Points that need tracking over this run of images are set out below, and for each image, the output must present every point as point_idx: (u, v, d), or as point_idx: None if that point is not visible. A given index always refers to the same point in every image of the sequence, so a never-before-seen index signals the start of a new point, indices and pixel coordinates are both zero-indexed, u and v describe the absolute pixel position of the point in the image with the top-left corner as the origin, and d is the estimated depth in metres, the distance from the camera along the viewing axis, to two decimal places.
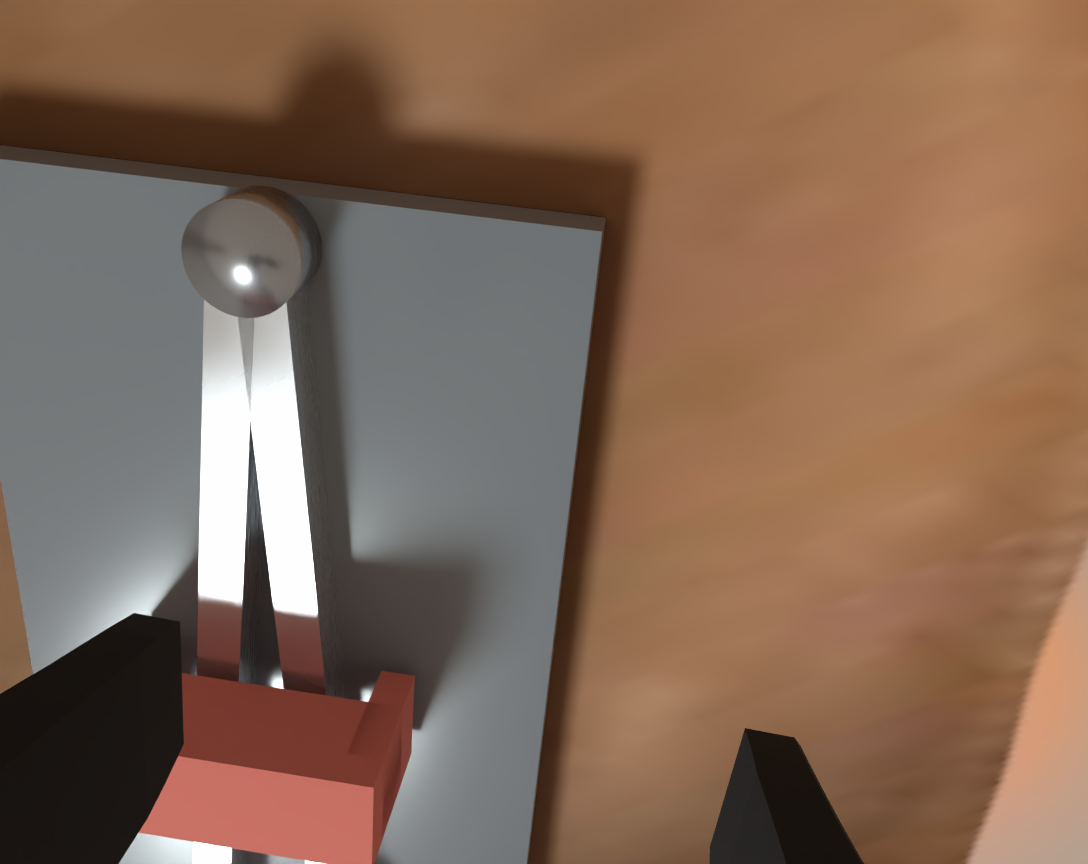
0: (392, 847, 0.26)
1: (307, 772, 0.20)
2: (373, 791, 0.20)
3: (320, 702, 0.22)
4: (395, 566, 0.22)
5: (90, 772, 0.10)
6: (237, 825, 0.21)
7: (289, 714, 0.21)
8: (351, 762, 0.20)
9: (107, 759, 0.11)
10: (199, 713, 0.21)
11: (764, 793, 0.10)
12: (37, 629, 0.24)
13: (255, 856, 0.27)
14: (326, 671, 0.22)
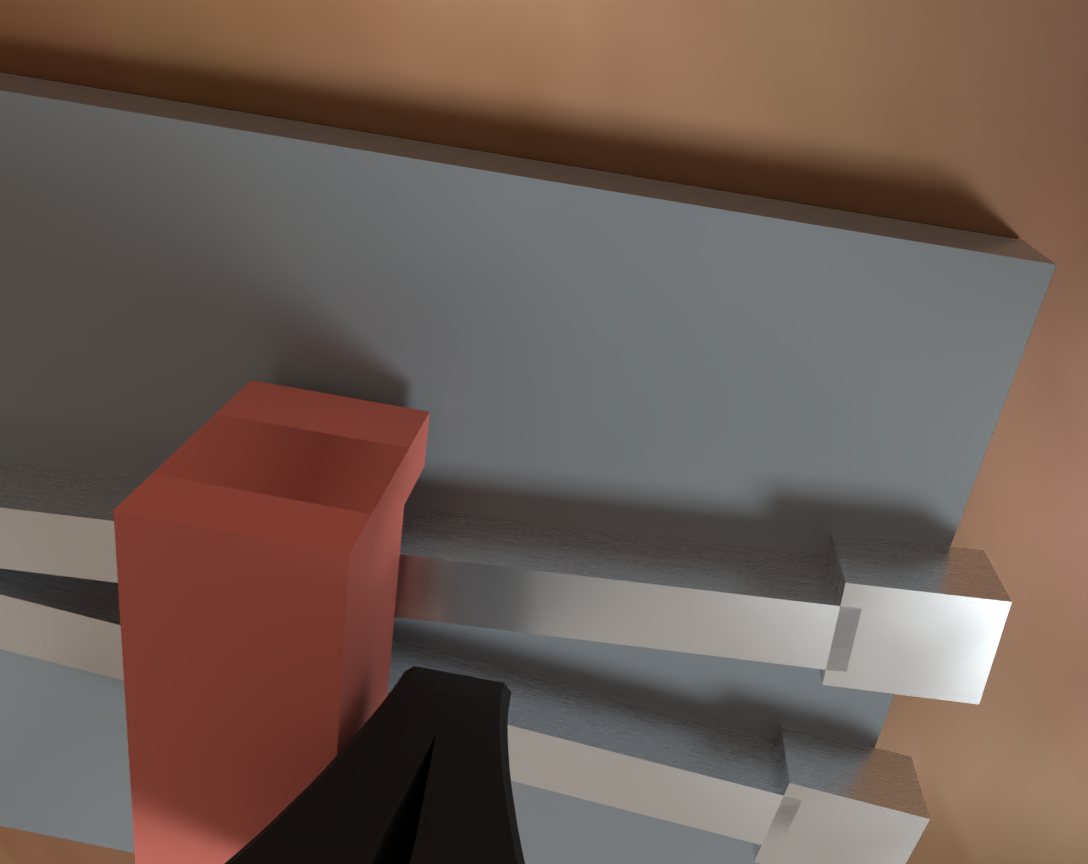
0: (729, 485, 0.13)
1: (125, 618, 0.10)
2: (123, 512, 0.10)
3: None
4: (97, 382, 0.14)
5: (412, 836, 0.10)
6: (274, 761, 0.11)
7: None
8: None
9: None
10: None
11: (440, 731, 0.11)
12: None
13: (755, 718, 0.15)
14: None
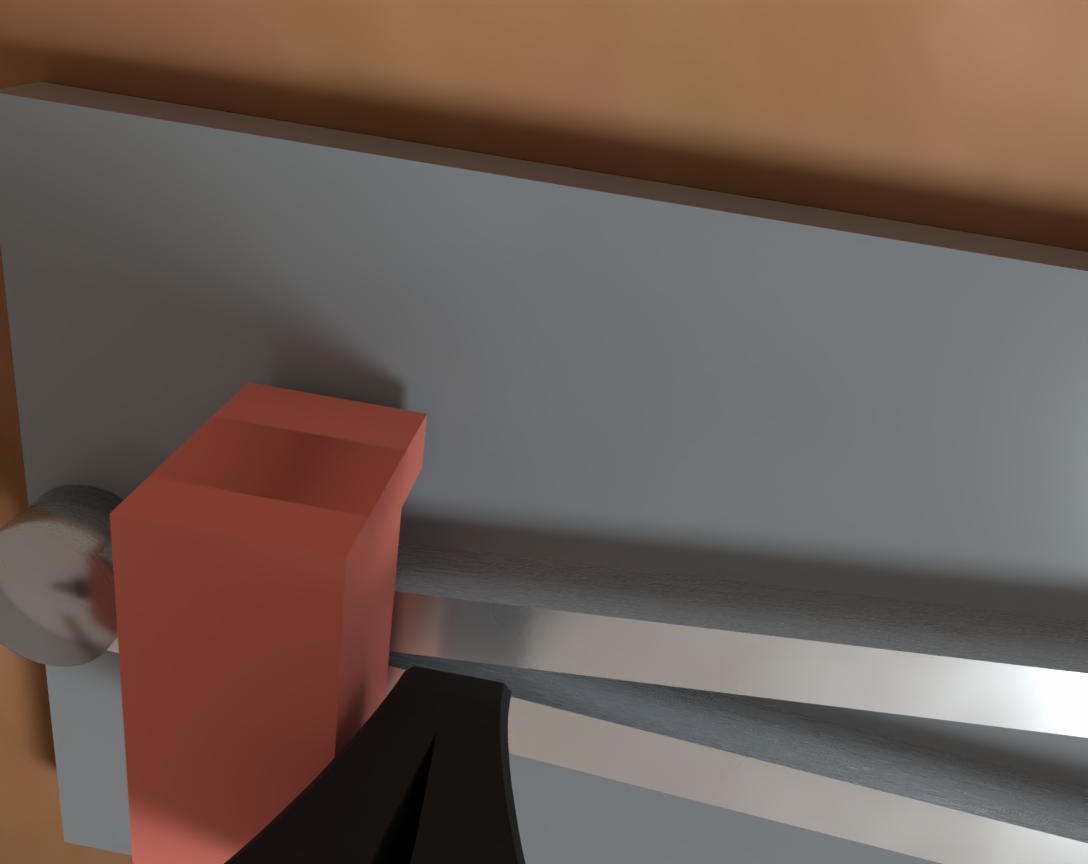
0: None
1: (122, 621, 0.10)
2: (119, 515, 0.10)
3: None
4: (587, 472, 0.13)
5: (412, 836, 0.10)
6: (272, 764, 0.11)
7: None
8: None
9: (420, 820, 0.11)
10: None
11: (440, 731, 0.11)
12: None
13: None
14: (746, 626, 0.13)
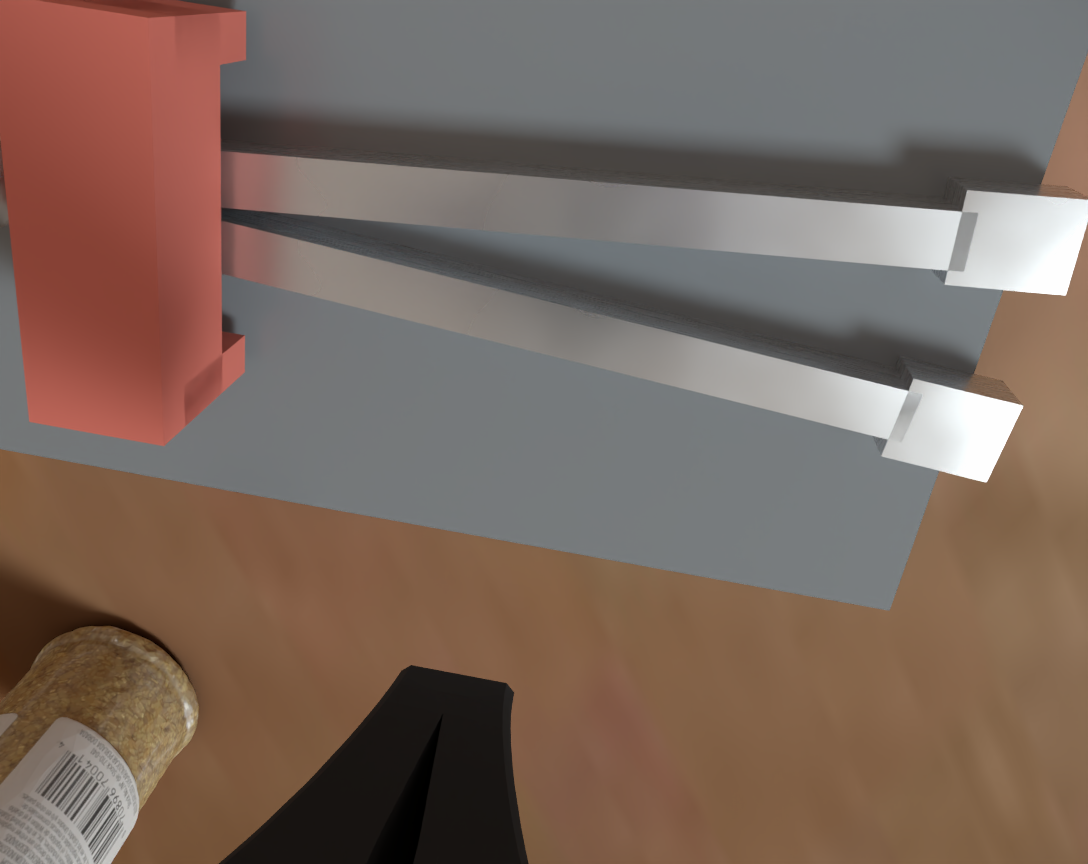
0: (870, 137, 0.17)
1: (0, 93, 0.15)
2: None
3: None
4: (373, 67, 0.17)
5: (408, 835, 0.10)
6: (112, 214, 0.15)
7: None
8: None
9: (417, 820, 0.11)
10: None
11: (443, 732, 0.11)
12: (500, 527, 0.21)
13: (879, 351, 0.18)
14: (486, 171, 0.17)
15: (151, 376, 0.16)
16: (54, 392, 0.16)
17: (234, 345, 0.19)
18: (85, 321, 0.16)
